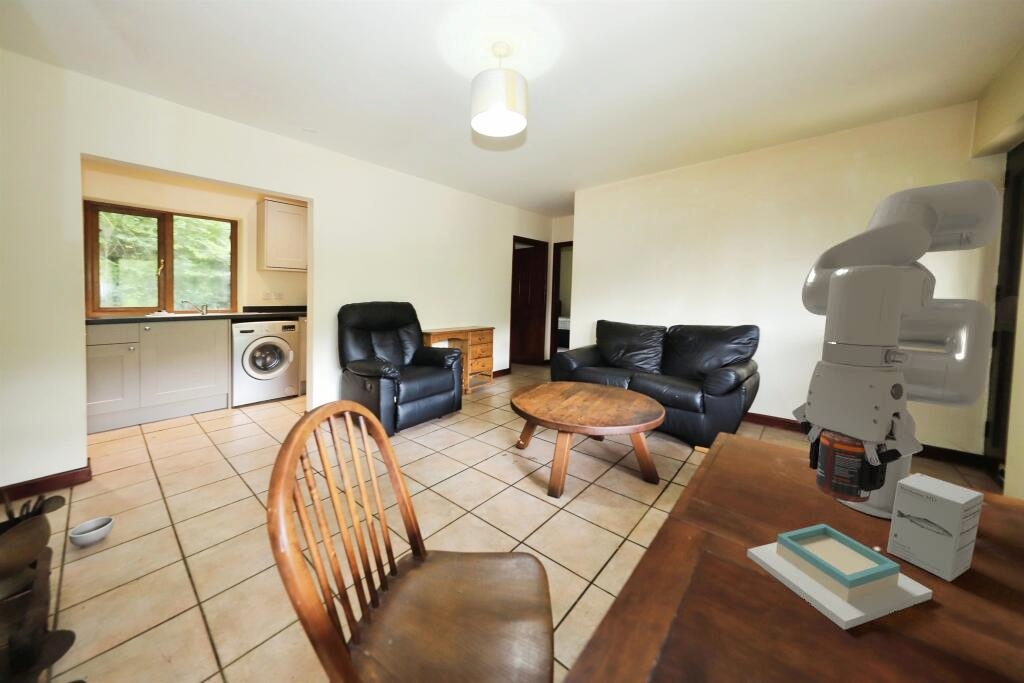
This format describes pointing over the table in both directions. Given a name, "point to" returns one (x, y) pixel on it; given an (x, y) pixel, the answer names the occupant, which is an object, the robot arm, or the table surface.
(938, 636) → the table surface
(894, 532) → the supplement box
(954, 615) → the table surface
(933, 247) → the robot arm
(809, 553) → the teal framed tray
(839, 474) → the supplement bottle
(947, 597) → the table surface
